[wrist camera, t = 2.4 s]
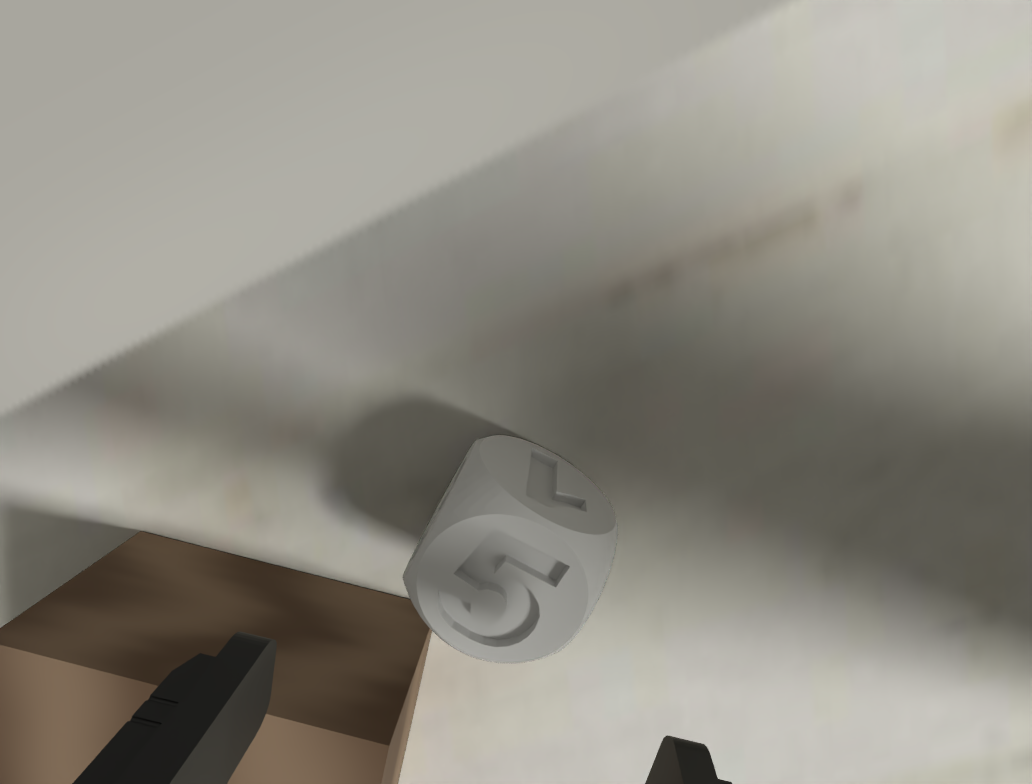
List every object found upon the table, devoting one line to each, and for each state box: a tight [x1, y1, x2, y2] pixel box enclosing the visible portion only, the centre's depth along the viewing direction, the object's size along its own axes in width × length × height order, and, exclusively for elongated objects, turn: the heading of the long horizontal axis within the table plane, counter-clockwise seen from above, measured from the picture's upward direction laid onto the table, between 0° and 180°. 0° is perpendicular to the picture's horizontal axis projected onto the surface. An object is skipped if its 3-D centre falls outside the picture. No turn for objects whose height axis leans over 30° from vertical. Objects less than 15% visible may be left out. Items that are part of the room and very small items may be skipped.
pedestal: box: [0, 531, 432, 784], centre depth 20 cm, size 12×12×6 cm
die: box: [403, 435, 618, 663], centre depth 17 cm, size 5×5×5 cm
